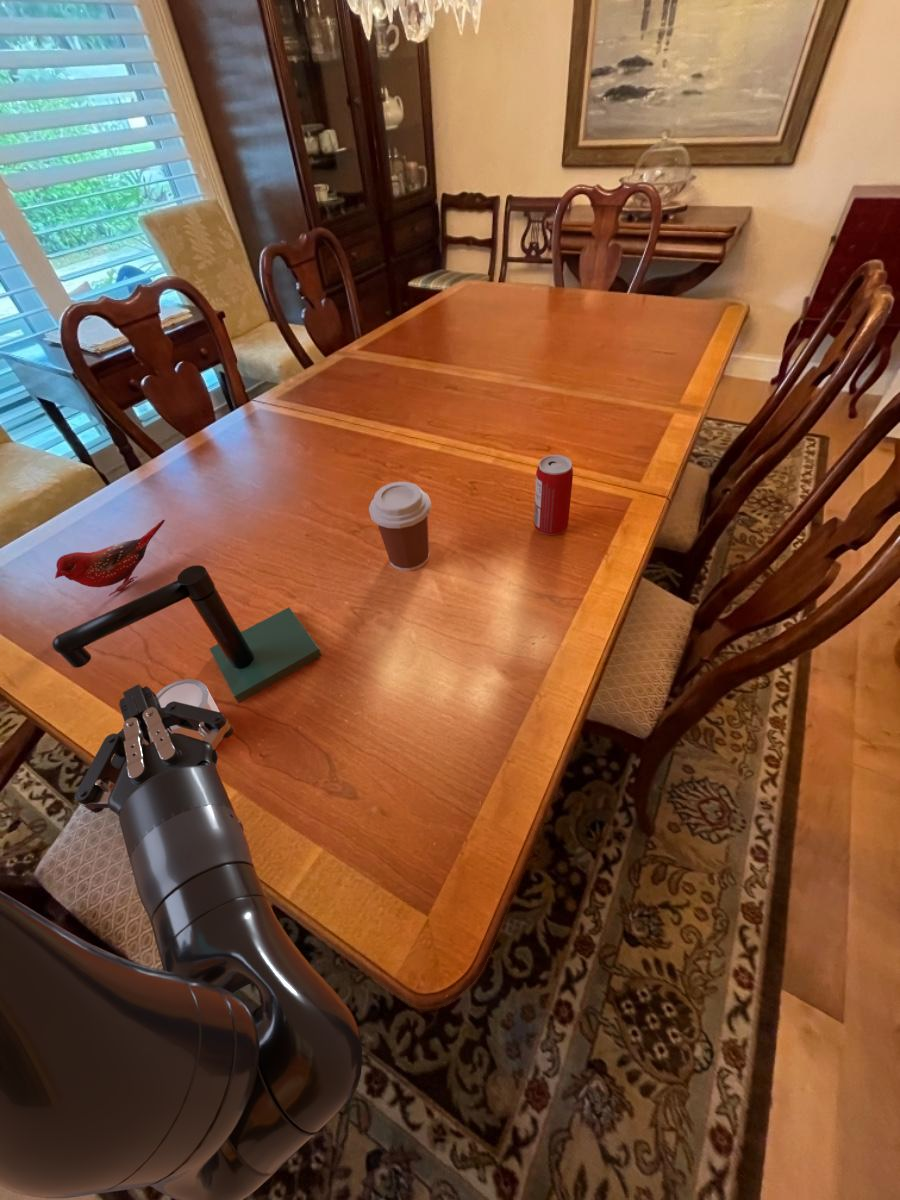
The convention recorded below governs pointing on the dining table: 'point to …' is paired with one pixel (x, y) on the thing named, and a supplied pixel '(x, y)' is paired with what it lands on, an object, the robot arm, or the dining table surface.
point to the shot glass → (187, 700)
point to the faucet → (255, 647)
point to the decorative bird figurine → (106, 563)
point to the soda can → (553, 494)
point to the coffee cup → (403, 523)
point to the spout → (132, 614)
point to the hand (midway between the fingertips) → (135, 693)
